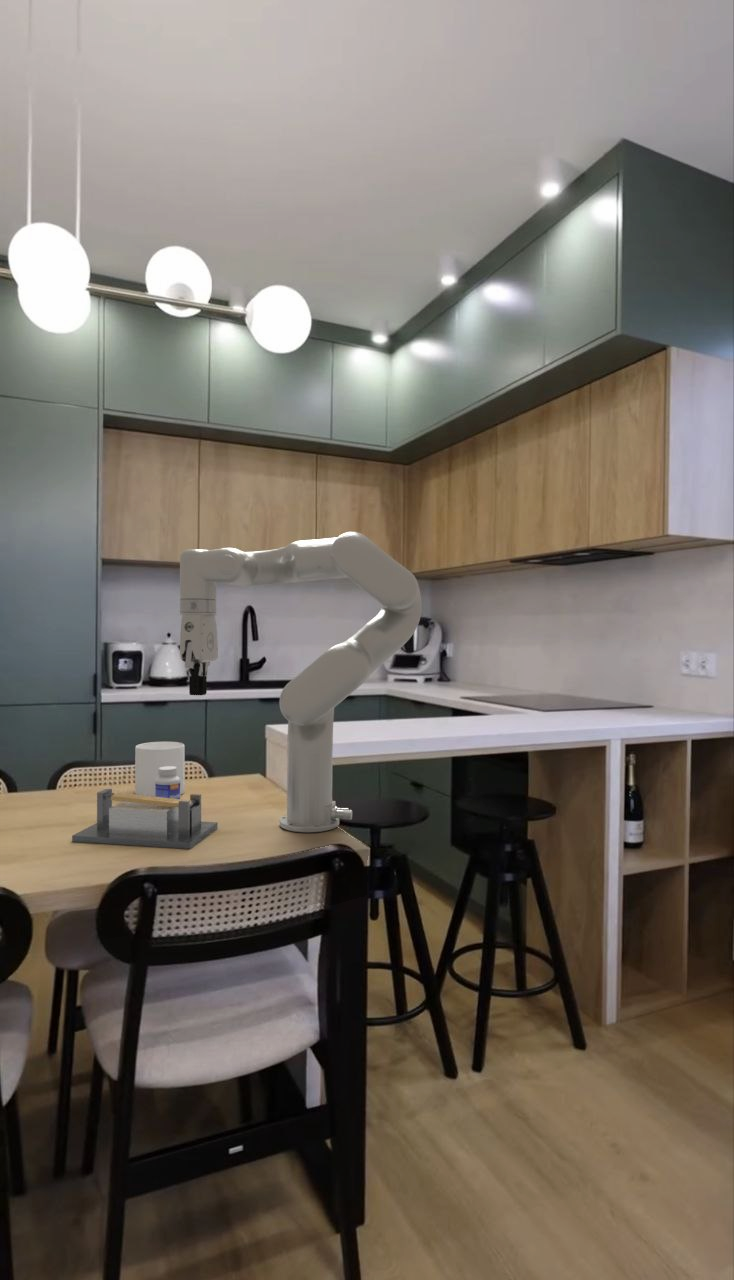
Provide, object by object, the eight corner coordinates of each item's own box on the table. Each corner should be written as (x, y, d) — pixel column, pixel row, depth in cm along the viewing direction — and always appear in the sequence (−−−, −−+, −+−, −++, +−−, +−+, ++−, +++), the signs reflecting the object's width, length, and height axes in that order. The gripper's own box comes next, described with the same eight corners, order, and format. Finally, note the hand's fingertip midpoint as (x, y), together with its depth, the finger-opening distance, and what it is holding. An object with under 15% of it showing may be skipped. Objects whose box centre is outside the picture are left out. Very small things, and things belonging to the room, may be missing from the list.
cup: (145, 787, 184) (145, 741, 184) (190, 788, 183) (190, 741, 183) (128, 798, 172) (128, 749, 172) (176, 799, 172) (176, 749, 171)
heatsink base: (217, 828, 148) (217, 787, 148) (190, 849, 134) (190, 804, 134) (109, 822, 152) (109, 782, 152) (72, 841, 138) (72, 798, 138)
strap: (196, 804, 143) (196, 800, 143) (188, 809, 139) (188, 805, 139) (119, 796, 146) (119, 791, 146) (109, 800, 142) (109, 796, 142)
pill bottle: (173, 814, 158) (173, 770, 158) (150, 813, 159) (150, 769, 159) (184, 808, 164) (184, 766, 163) (162, 807, 165) (162, 764, 165)
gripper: (201, 607, 144) (200, 698, 144) (227, 609, 159) (227, 692, 159) (166, 607, 145) (165, 698, 146) (195, 609, 160) (195, 691, 160)
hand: (197, 694), depth 152 cm, fingers closed
